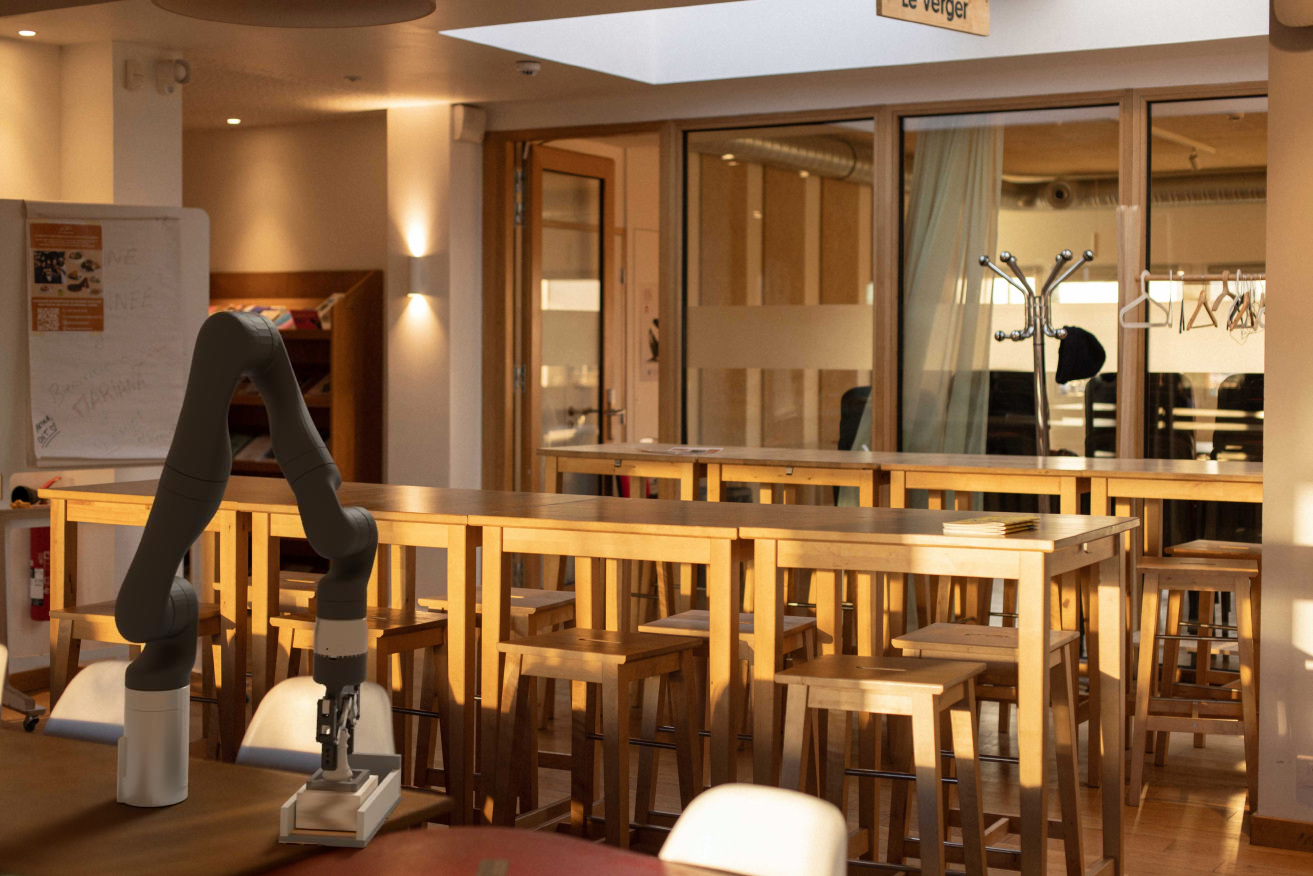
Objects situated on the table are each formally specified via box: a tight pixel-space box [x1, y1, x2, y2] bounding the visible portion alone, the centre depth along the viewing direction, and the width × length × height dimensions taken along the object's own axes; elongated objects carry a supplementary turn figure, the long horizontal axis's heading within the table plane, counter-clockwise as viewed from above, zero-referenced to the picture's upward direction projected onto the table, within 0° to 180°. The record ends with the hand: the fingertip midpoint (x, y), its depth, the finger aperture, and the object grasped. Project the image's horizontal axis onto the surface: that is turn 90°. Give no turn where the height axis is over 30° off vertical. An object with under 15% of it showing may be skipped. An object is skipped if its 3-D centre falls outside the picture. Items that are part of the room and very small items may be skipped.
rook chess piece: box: [322, 728, 353, 782], centre depth 203 cm, size 4×4×8 cm
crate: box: [296, 767, 378, 831], centre depth 204 cm, size 9×10×6 cm
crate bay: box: [278, 751, 402, 849], centre depth 207 cm, size 12×22×7 cm, turn 177°
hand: (337, 761), depth 203 cm, fingers open, 8 cm apart
